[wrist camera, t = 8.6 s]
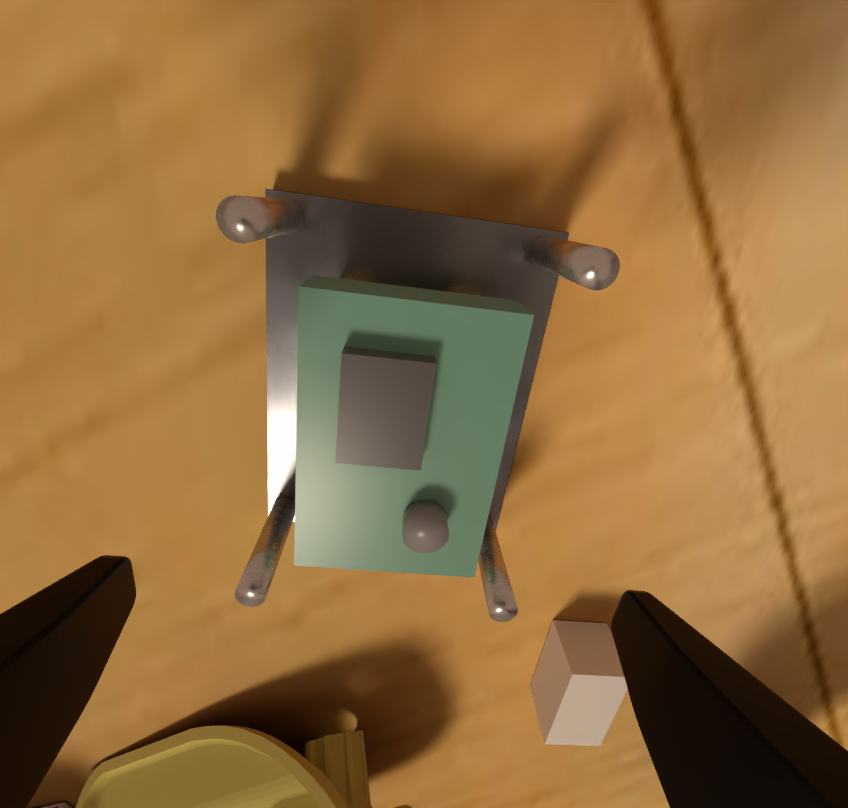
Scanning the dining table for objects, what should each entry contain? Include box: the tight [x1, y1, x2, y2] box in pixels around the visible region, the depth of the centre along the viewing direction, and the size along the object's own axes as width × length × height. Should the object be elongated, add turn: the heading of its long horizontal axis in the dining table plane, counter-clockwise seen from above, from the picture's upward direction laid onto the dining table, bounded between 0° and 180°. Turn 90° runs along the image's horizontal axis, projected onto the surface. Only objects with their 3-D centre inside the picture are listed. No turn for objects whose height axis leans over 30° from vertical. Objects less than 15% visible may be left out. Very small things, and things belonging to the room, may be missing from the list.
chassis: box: [216, 189, 620, 622], centre depth 15 cm, size 10×13×6 cm
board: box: [294, 275, 534, 577], centre depth 14 cm, size 6×9×3 cm, turn 173°
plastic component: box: [76, 725, 412, 808], centre depth 26 cm, size 20×7×10 cm
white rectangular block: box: [530, 620, 628, 746], centre depth 23 cm, size 3×5×3 cm, turn 173°
